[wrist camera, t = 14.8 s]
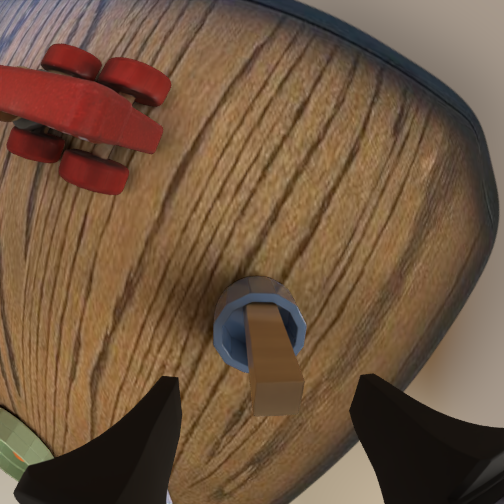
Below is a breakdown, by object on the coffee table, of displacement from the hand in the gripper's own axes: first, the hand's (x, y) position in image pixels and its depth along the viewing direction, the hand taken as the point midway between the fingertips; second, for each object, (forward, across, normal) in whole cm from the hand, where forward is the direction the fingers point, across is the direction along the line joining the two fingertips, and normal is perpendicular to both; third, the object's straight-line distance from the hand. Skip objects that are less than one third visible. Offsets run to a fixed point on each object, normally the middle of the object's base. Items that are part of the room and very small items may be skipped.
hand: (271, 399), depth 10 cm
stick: (+8, 0, -1) cm, 8 cm away
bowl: (+8, +28, +21) cm, 36 cm away
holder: (+8, 0, 0) cm, 8 cm away
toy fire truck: (+8, +11, -12) cm, 18 cm away
